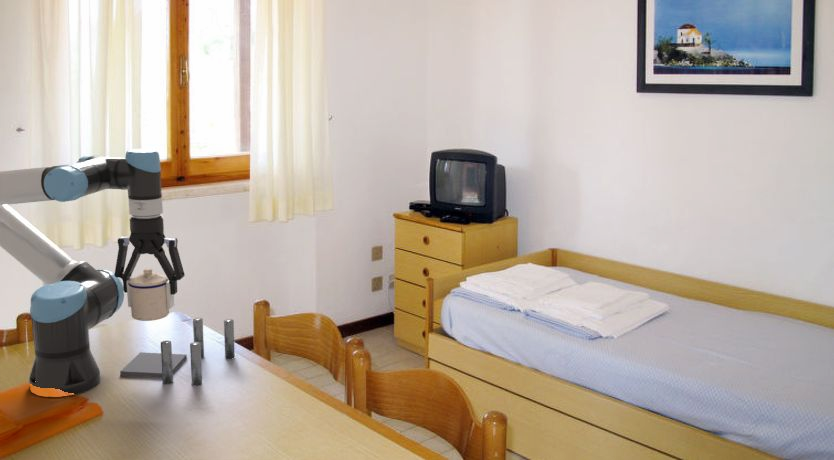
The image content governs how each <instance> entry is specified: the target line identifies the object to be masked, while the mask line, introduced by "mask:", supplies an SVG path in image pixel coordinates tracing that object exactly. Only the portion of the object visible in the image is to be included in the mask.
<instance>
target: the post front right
mask: <svg viewBox="0 0 834 460" xmlns="http://www.w3.org/2000/svg"><path fill="white" fill-rule="evenodd" d="M189 352H190V353H189V354H190V373H191V376H190V377H191V386H194V387H198V386H201V385H202V384H203V369H202V358H201V343H200V342H194V341H193V342H190V343H189Z"/></svg>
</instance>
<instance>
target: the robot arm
mask: <svg viewBox="0 0 834 460" xmlns="http://www.w3.org/2000/svg"><path fill="white" fill-rule="evenodd" d="M161 172H162V167H161V160H160V154H159V152H158V151H157V150H155V149H152V148H151V149H150V148H134V149H133V148H132V149H128V150H127V151H126V152H125V157H112V156H99V155H89V156H88V155H87V156H86V155H85V156H81V157H80V158H78V161H76V162H75V163H70V164H62V165H53V166H44V167H43V166H42V167H33V168H24V169H13V170H3V171H0V247H1V248H2V249H3V250H4V251H5V252H6V253H8V254H9V255H10V256H11V257H13V258H14V259H15V260H16V261H18V262H19V263H20V264H21V265H22V266H23V267H25V268H26V269H27V270H28V271H29V272H30V273H32V274H33V275H34V276H35V277H36V278H38V279H39V281H41V282H42V283H44V284H45V285H43V286H41V287H39V288H37V289H36V290H35V291H34V292H33V293H32V295H31V297H30V308H29V314H30V316H31V327H32V337H33V346H34V347H33V349H34V360H33V364H32V367H31V371H30V375H29V378H28V384H29V383H30V384H32V385H33V386H36V387H40V388H55V389H60V390H62V391H64V392H68V393H74V394H76V395H79V394H83V393H85V392H88V391H90V390H92V389H94V388H95V387H96V386H98V384H99V383H100V382H101V375H100V374H101V371H100V368H99V366H98V363H97V361H96V360H95V358H94V354H92V351H91V347H90V346H91V345H90V331H89V330H91V329H93V328H94V327H96V326H97V325H99V324H100V323H102V322H104V321H105V320H108V319H109V318H111V317H112V316H114V314H116V313H117V312H118V311H119V310H120V309H121V307H122V305H123V303H124V300H125V299H124V298H125V293H127V294H126V295H127V296H126V297H127V307H128V308H131V299H130V286H129V284H128V283H129V280H130V279H131V278H132V276H133V275H132V274H133V273H134V271H135V268H136V266H137V263H138V261H139V259H140V257H141V255H145V254H147V255H153V257H154V258H156V259H157V261H158V263H159V265H160V266H161V268H162V270H163V272H164V274H165V276H166V277H167V278H168V281H167V282H166V293H167V308H168V309H169V310H170V309H171V308H173V307H174V306H175V295H176V294H178V281H180V280H182V279H183V278H184V277H185V276H186V274H185V271H184V268H183V265H182V261H181V257H180V253H179V249H178V243H179V242H178V238H177V237H173V238H169V237H166V236H165V233H164V231H165V230H164V229H165V228H164V225H165V224H164V216H163V215H162V214H163V213H164V207H163V197H162V196H163V195H162V173H161ZM104 190H127V194H128V195H127V196H128V212H129V213H128V214H129V215H130V217H129V229H130V230H129V231H130V236H125V235H122V236H121V237H118V238H117V246H118V250H117V256H116V257H117V258H116V263H115V269H114V272H112V271H110V270H108V269H96V268H94V266H92V265H91V264H90V263H89V262H87V261H86V260H81V261H80V260H79V261H78V260H77V261H76V260H75V259H73V257H71V256H70V255H69V254H68V253H66V252H65V251H64V250H63V249H61V248H60V247H59V246H58V245H57V244H56V243H55V242H53V240H52V239H50V238H49V237H47V236H46V235H45V234H44V233H43V232H41V231H40V230H39V229H38V228H37V227H35V226H34V225H33V224H32V223H31V222H29V221H28V220H27V219H26V218H24V216H23V215H21V214H20V213H18V212H17V211H16V210H15V209H14V208H13V207H11V206H10V205H17V204H25V203H27V204H28V203H36V202H38V203H39V202H46V201H56V202H59V203H64V202H65V203H66V202H71V201H72V202H73V201H76V200H78V199H80V198H83V197H86V196H88V195H91V194H95V193H98V192H101V191H104ZM130 244H132V246H133V248H134V249H133V251H132V253H131V257H130V259H129V260H128V263H127V266H126V260H127V255H128V249H129V248H128V247H129V245H130ZM164 245H166V248H168V252H169V257H170V260H171V261H170V260H169V259H168V257H167V254H166V251H165V250H164V248H163V246H164ZM121 280H122V281H121ZM35 381H36V382H35Z"/></svg>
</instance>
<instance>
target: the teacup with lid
mask: <svg viewBox="0 0 834 460" xmlns="http://www.w3.org/2000/svg"><path fill="white" fill-rule="evenodd" d="M142 271H143V272H141V273H140V274H138V275H135V276H133V277H130V278H131V279H130V280H129V283H128V284H129V286H130V299H131V307H130V311H131V312H130V313H131V318H132V319H134V320H136V321H141V322H150V321H157V320H161V319H164V318H166V317H168V315H169V314H170V309H168V308H167V293H166V282H167V281H169V280H168V278H167V276H166V275H164V274H160V273H157V272H154V271H153V269H152V268H149V267H148V268H144V269H143V270H142Z"/></svg>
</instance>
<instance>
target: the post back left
mask: <svg viewBox="0 0 834 460" xmlns="http://www.w3.org/2000/svg"><path fill="white" fill-rule="evenodd" d="M192 332H193V342H200V343H201V357H202V358H204V357H205V347H204V344H205V343H204V321H203V318H202V317H194V318H193V319H192ZM203 356H204V357H203Z"/></svg>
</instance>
